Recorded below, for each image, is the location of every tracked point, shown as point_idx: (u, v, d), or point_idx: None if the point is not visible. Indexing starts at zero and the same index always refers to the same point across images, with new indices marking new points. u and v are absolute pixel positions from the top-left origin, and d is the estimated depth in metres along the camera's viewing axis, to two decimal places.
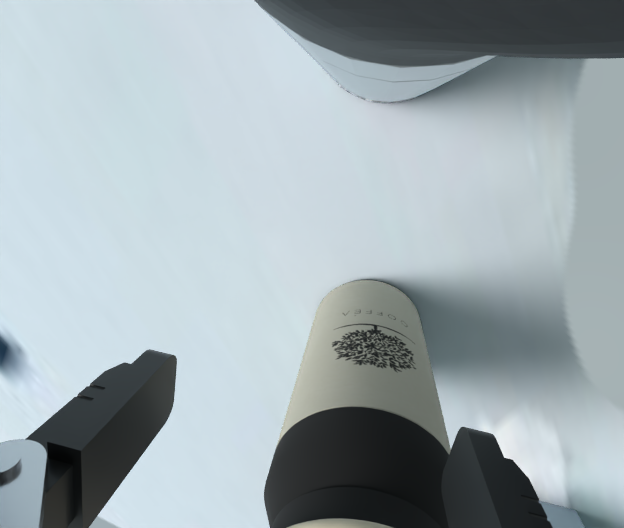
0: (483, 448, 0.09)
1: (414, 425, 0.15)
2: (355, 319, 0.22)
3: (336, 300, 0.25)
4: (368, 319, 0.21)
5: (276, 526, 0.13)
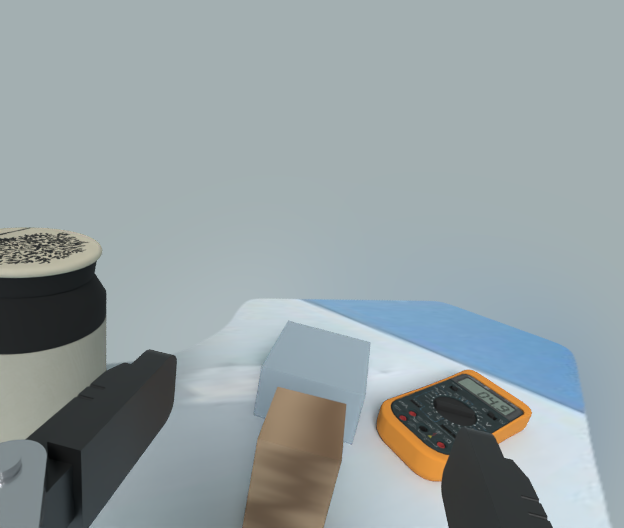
0: (483, 448, 0.09)
1: None
2: None
3: None
4: None
5: None
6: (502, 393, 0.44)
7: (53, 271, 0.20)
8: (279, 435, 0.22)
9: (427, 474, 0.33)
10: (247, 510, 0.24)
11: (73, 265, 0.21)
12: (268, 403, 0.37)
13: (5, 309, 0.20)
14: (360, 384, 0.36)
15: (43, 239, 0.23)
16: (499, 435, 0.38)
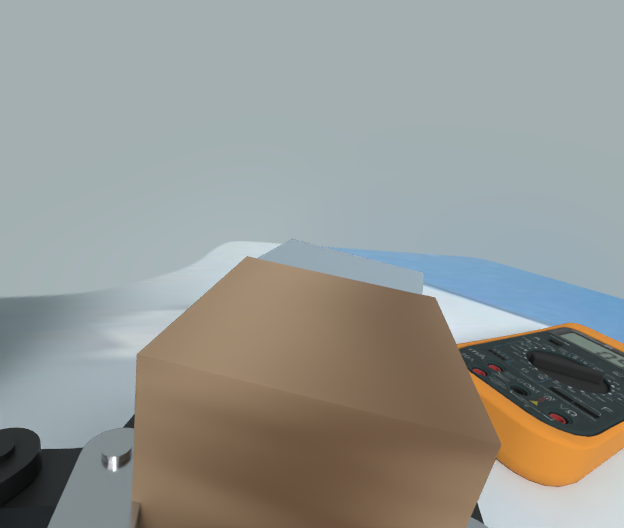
0: None
1: None
2: None
3: None
4: None
5: None
6: None
7: None
8: (234, 350, 0.06)
9: (536, 470, 0.17)
10: None
11: None
12: None
13: None
14: None
15: None
16: None
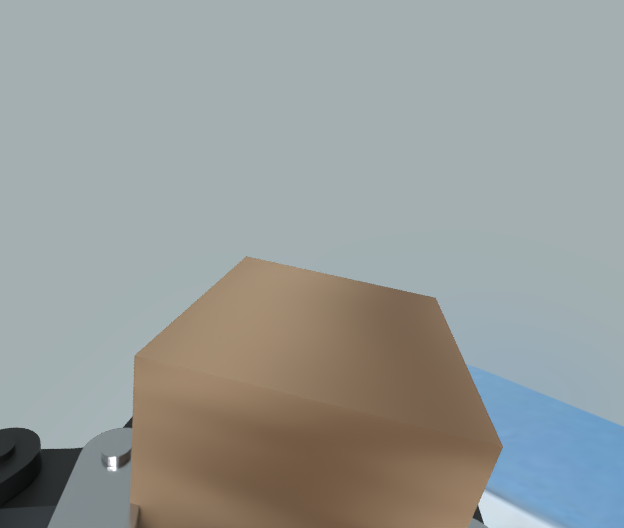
0: None
1: None
2: None
3: None
4: None
5: None
6: None
7: None
8: (233, 351, 0.06)
9: None
10: None
11: None
12: None
13: None
14: None
15: None
16: None
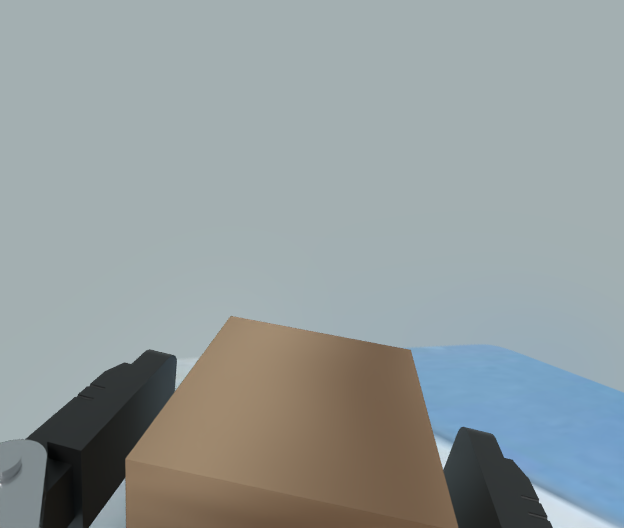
0: (483, 448, 0.09)
1: None
2: None
3: None
4: None
5: None
6: None
7: None
8: (217, 442, 0.06)
9: None
10: None
11: None
12: None
13: None
14: None
15: None
16: None
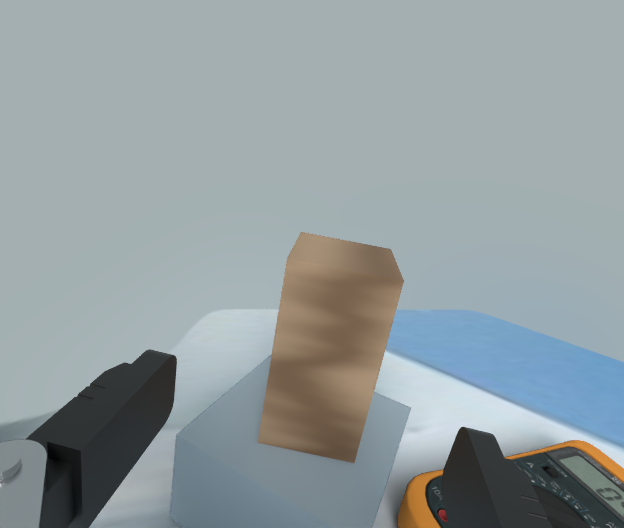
0: (483, 448, 0.09)
1: None
2: None
3: None
4: None
5: None
6: None
7: None
8: (316, 258, 0.16)
9: None
10: (271, 373, 0.18)
11: None
12: (190, 506, 0.19)
13: None
14: (362, 510, 0.17)
15: None
16: None
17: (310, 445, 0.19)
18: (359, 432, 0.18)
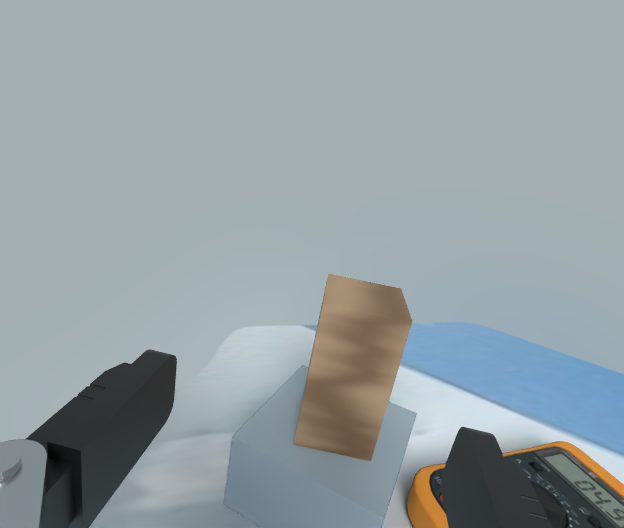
0: (483, 448, 0.09)
1: None
2: None
3: None
4: None
5: None
6: (618, 489, 0.29)
7: None
8: (344, 302, 0.21)
9: None
10: (307, 389, 0.23)
11: None
12: (242, 493, 0.24)
13: None
14: (380, 492, 0.22)
15: None
16: None
17: (336, 447, 0.24)
18: (375, 437, 0.23)
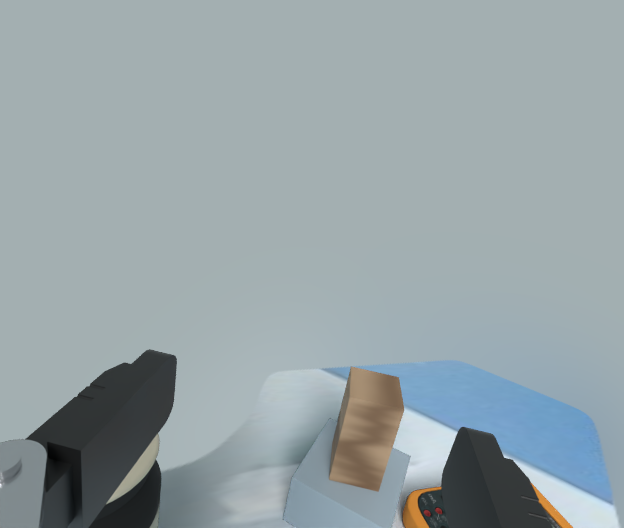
0: (483, 448, 0.09)
1: None
2: None
3: None
4: None
5: None
6: (549, 510, 0.42)
7: (121, 493, 0.20)
8: (362, 395, 0.35)
9: None
10: (338, 447, 0.36)
11: (138, 478, 0.21)
12: (296, 513, 0.38)
13: None
14: (387, 515, 0.35)
15: None
16: None
17: (356, 482, 0.37)
18: (381, 476, 0.36)
